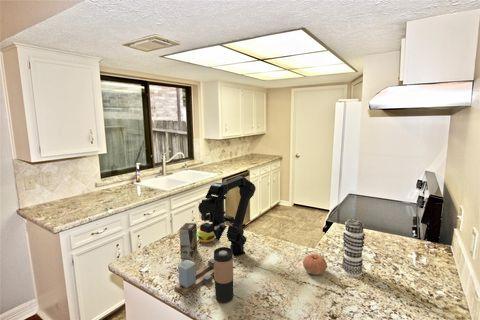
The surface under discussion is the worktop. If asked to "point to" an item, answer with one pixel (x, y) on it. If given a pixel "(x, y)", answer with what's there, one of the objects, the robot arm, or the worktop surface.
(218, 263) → the travel mug
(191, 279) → the block
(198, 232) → the hamburger
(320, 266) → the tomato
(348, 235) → the grey white banded cylinder
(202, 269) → the beam
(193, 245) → the coffee box
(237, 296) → the worktop surface
